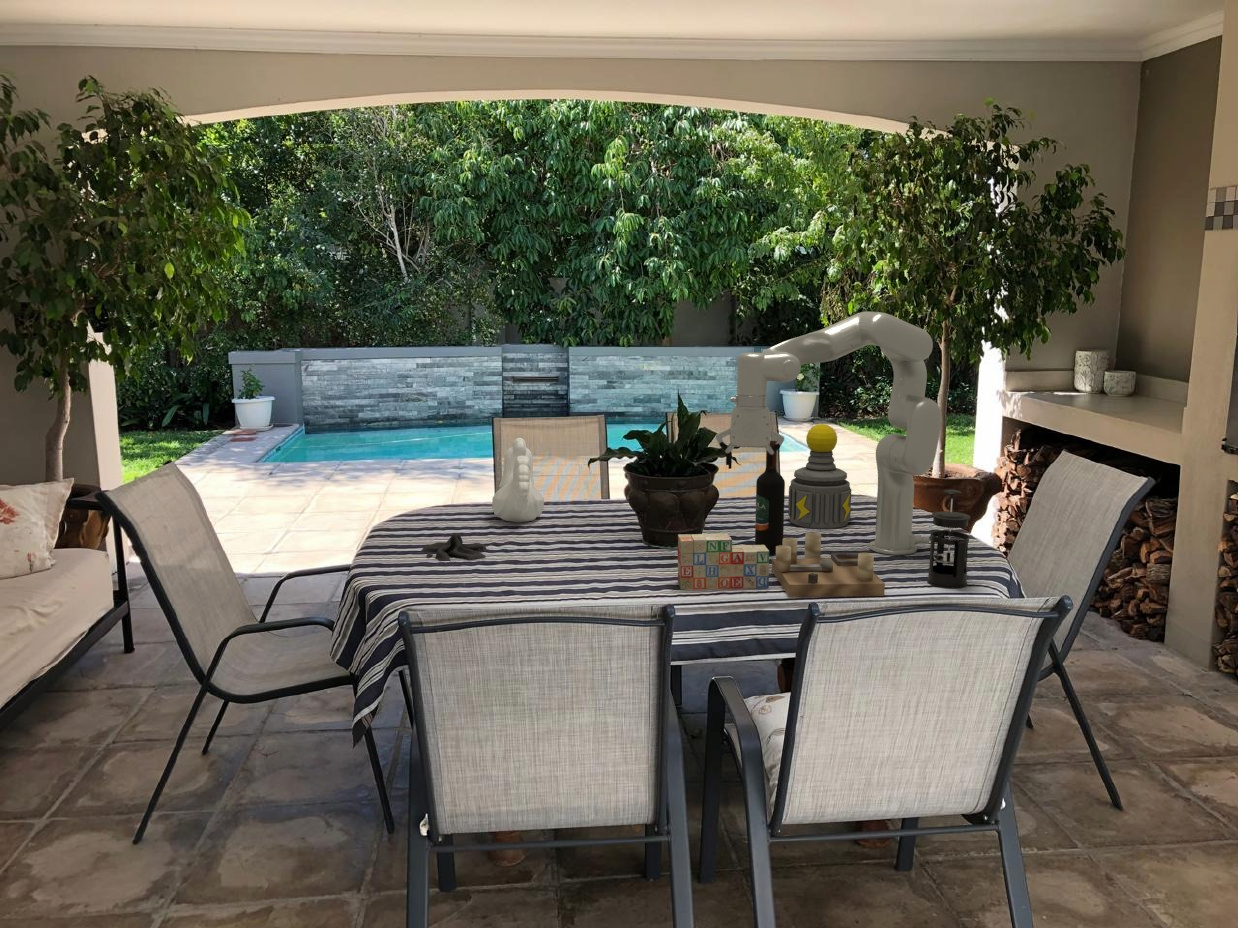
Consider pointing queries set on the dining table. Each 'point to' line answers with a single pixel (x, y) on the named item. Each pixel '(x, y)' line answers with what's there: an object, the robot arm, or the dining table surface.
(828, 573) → the wooden peg board
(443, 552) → the cloth
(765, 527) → the wine bottle
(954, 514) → the french press
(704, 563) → the stack of blocks
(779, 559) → the hinged leg
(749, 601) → the dining table surface
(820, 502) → the decorative lamp
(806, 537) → the loose leg
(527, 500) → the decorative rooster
